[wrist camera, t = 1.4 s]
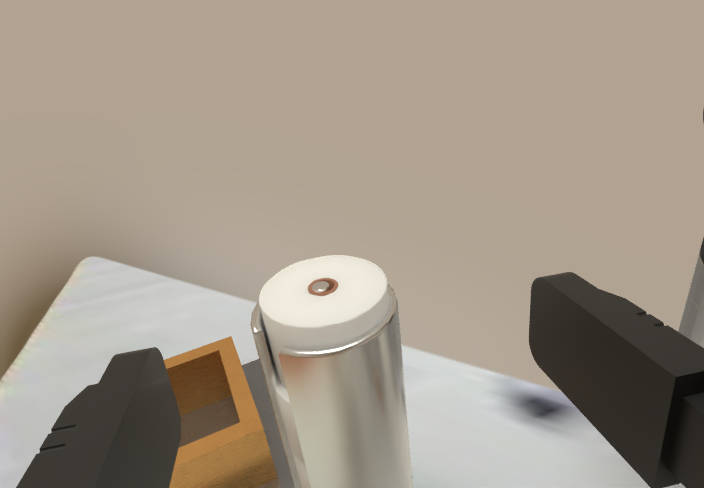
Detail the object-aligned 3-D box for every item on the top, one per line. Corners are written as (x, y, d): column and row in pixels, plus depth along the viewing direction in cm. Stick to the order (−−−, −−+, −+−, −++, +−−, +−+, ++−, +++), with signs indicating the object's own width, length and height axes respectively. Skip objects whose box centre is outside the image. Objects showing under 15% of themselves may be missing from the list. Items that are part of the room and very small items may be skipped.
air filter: (318, 559, 33) (241, 267, 22) (401, 530, 34) (370, 238, 23) (338, 669, 27) (248, 352, 16) (437, 630, 28) (419, 308, 17)
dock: (263, 368, 52) (249, 315, 49) (318, 500, 37) (303, 437, 34) (94, 433, 46) (64, 379, 43) (78, 621, 31) (31, 560, 28)
